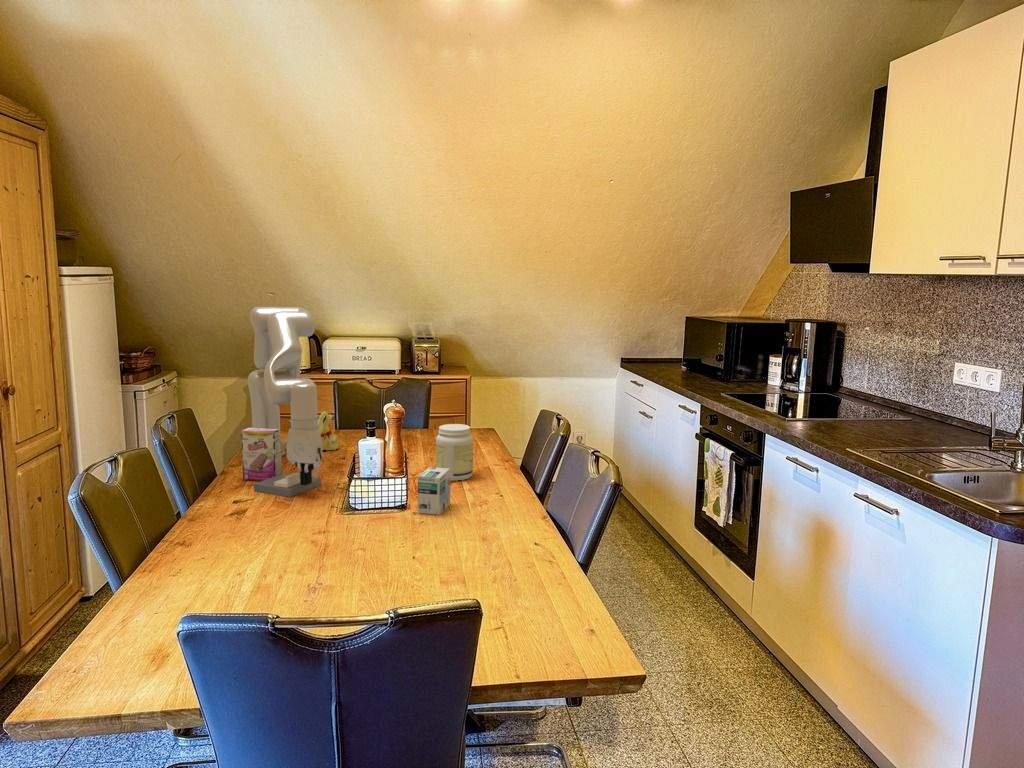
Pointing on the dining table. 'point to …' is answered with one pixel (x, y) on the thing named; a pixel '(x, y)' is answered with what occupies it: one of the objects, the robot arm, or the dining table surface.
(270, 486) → the socket plate
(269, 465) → the candy bar box
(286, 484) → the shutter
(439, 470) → the light bulb box
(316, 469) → the plug
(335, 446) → the chocolate bunny
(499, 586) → the dining table surface
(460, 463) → the supplement tub
